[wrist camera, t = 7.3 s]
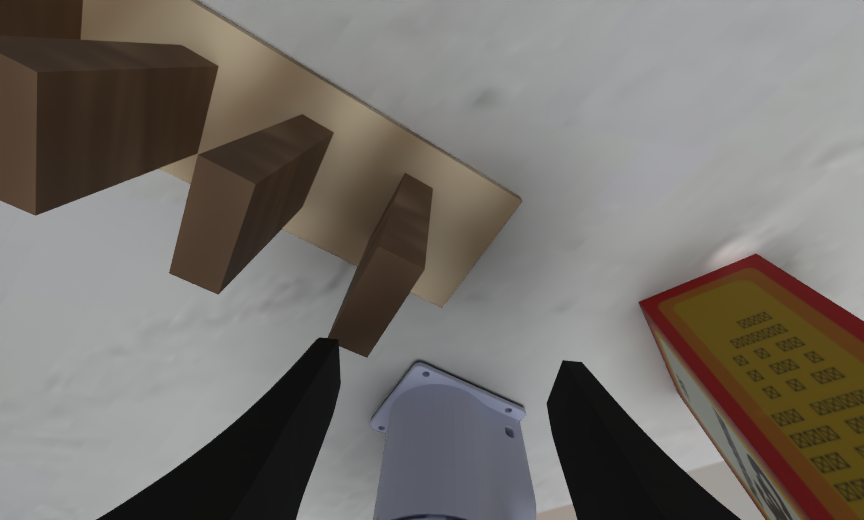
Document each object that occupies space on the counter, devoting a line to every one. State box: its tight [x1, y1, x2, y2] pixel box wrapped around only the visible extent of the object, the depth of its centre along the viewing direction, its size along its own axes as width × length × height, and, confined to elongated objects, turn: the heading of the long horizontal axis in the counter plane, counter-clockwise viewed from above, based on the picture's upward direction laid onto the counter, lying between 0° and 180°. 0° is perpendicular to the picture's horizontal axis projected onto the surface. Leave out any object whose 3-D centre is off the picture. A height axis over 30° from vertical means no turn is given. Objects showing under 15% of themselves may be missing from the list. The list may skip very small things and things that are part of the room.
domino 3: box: [328, 173, 433, 357], centre depth 15 cm, size 2×4×8 cm, turn 151°
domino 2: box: [169, 114, 334, 294], centre depth 14 cm, size 2×4×8 cm, turn 150°
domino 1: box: [0, 36, 219, 216], centre depth 13 cm, size 2×4×8 cm, turn 150°
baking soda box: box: [639, 254, 864, 520], centre depth 16 cm, size 10×6×16 cm
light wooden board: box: [81, 0, 522, 308], centre depth 17 cm, size 26×8×1 cm, turn 60°
